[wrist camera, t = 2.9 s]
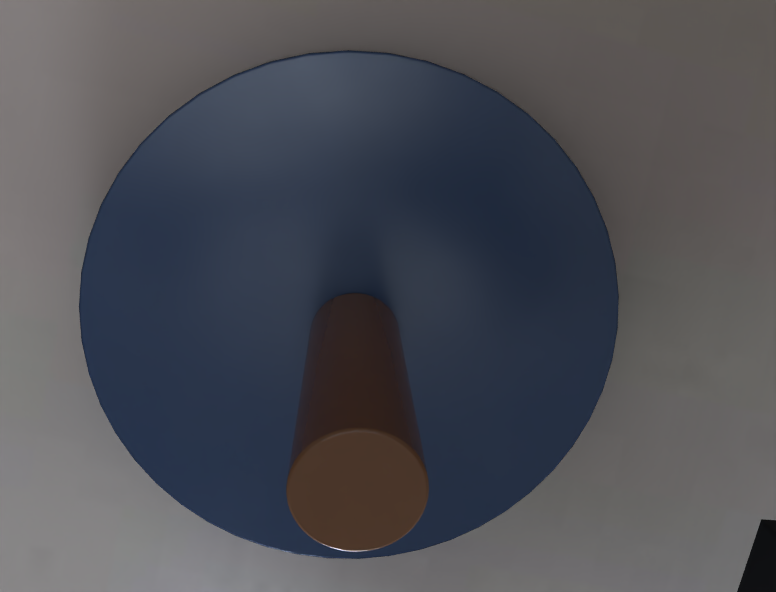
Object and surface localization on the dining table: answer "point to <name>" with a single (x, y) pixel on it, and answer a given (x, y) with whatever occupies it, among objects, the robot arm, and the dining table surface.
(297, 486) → the pot lid
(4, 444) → the dining table surface
